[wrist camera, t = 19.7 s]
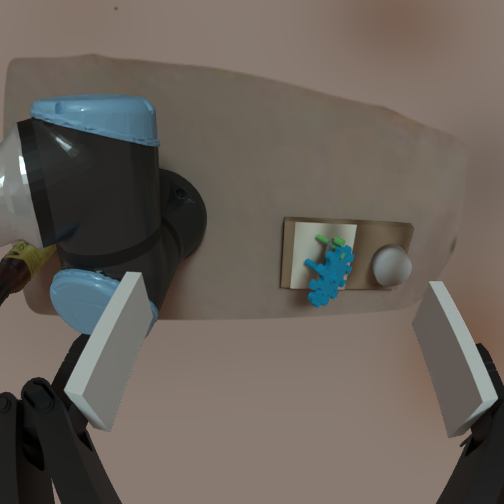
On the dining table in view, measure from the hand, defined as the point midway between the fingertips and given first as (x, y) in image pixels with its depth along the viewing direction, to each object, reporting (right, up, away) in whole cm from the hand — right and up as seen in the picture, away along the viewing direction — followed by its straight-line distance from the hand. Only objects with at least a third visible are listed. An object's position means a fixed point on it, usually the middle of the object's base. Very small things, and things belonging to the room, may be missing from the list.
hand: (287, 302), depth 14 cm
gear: (+10, +1, +35) cm, 36 cm away
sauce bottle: (-40, +5, +38) cm, 55 cm away
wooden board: (+13, +2, +36) cm, 38 cm away
